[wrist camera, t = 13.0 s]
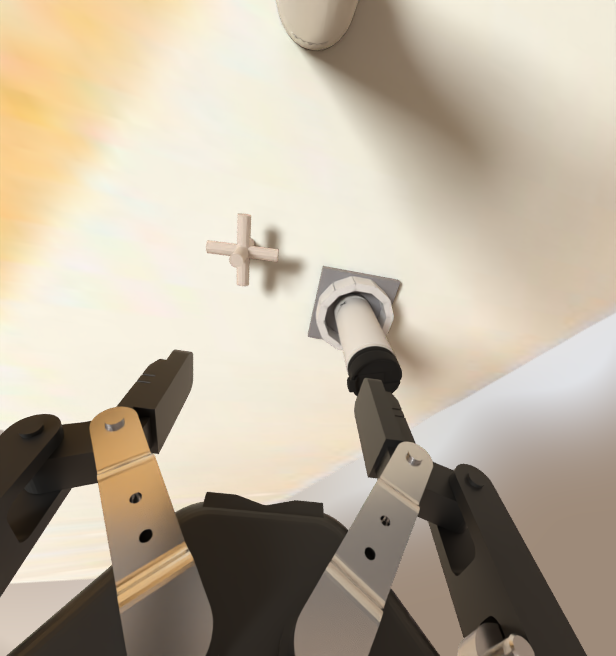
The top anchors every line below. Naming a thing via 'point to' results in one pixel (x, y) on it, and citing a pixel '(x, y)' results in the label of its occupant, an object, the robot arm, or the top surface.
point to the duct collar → (344, 283)
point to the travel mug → (365, 345)
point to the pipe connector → (242, 250)
